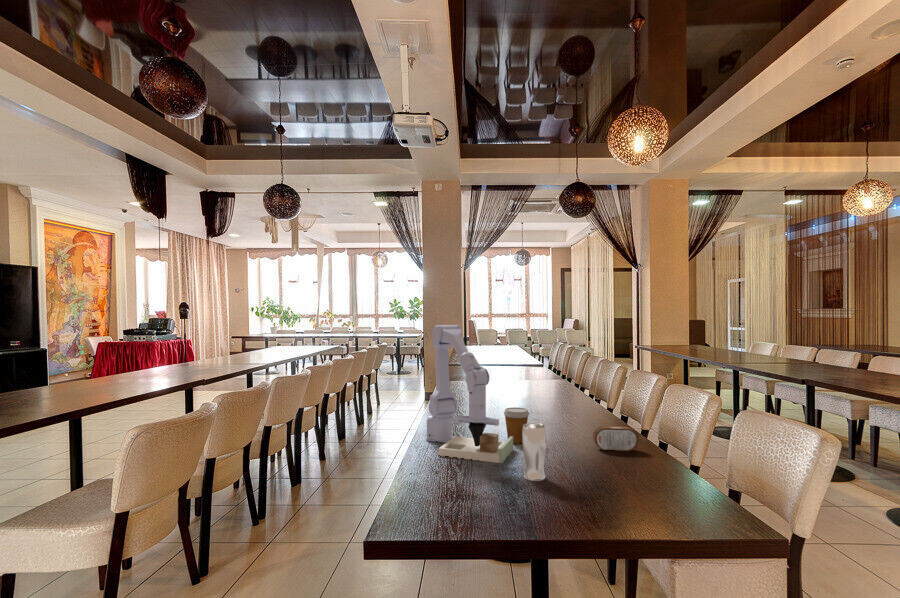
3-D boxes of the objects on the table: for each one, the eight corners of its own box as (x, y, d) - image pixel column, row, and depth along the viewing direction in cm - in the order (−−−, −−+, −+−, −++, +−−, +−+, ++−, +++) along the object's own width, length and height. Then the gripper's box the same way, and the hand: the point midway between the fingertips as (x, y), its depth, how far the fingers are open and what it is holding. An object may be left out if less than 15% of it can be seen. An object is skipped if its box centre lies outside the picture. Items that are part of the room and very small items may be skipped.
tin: (636, 449, 159) (636, 425, 160) (639, 452, 156) (639, 428, 156) (593, 448, 161) (592, 424, 161) (594, 451, 158) (594, 427, 158)
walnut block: (479, 451, 149) (479, 436, 149) (484, 447, 153) (484, 432, 153) (494, 453, 147) (494, 437, 147) (498, 448, 151) (498, 433, 152)
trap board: (438, 455, 152) (438, 442, 152) (454, 443, 167) (454, 431, 167) (502, 463, 144) (502, 449, 144) (513, 449, 159) (513, 436, 159)
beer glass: (546, 482, 128) (546, 429, 128) (521, 481, 129) (521, 428, 129) (546, 474, 134) (546, 423, 135) (522, 472, 136) (522, 422, 136)
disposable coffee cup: (531, 445, 164) (531, 412, 165) (505, 445, 164) (505, 412, 165) (527, 438, 174) (527, 407, 174) (502, 438, 174) (502, 407, 174)
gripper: (453, 405, 151) (453, 446, 150) (495, 408, 146) (495, 451, 145) (460, 401, 157) (460, 440, 157) (500, 404, 152) (500, 445, 152)
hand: (477, 445), depth 151 cm, fingers closed
